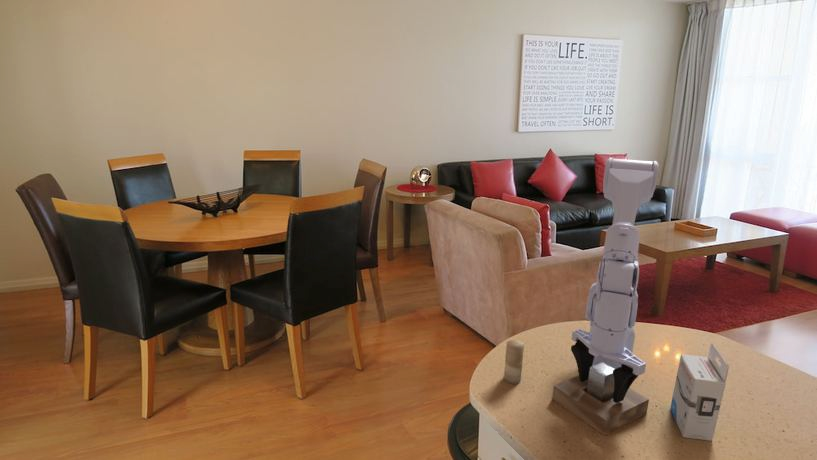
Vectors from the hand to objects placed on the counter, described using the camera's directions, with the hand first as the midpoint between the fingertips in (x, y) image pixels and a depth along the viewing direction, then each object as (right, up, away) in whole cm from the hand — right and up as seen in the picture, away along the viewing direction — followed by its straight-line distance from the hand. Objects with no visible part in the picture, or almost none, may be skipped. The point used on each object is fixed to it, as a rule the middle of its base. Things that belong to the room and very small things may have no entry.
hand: (600, 389), depth 97 cm
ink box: (+15, -5, -4) cm, 16 cm away
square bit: (0, -3, +1) cm, 4 cm away
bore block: (0, -3, +1) cm, 3 cm away
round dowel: (-15, -1, +9) cm, 17 cm away
